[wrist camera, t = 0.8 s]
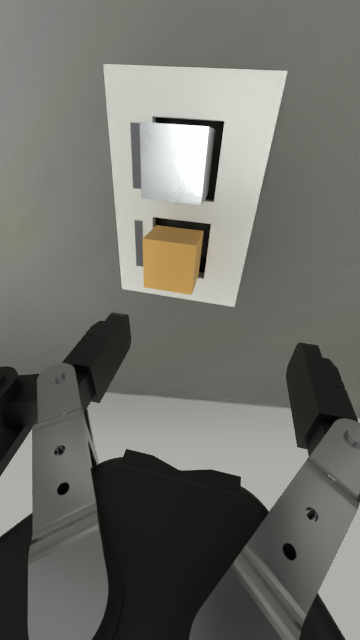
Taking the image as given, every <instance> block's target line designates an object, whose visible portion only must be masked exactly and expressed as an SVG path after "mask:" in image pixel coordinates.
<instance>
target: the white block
mask: <svg viewBox="0 0 360 640" xmlns="http://www.w3.org/2000/svg"><path fill="white" fill-rule="evenodd" d="M214 137H215V129H213V128H211V127H209V126H195V125H180V124H166V123H151V122H140V158H141V197H142V198H143V199H152V200H161V201H170V202H179V203H188V204H197V205H201V204H202V203H203V201H204V200H205V199H206V197H207V196H208V189H209V180H210V172H211V163H212V154H213V146H214Z"/></svg>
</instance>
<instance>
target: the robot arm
mask: <svg viewBox="0 0 360 640" xmlns="http://www.w3.org/2000/svg"><path fill="white" fill-rule="evenodd" d="M130 344H131V333H130V324H129V317H128V315H127V314H120V313H114V312H112V313H111V314H110V315H109V317H108V318H107V319H106V320H105V321H99V322H98V323H96V324H94V325H93V326H91V328H90V329H89V330H88V331H87V333H86V335H84V336H83V338H82V339H81V341H79V342H78V344H77V345H76V346H75V347H74V349H73V350H72V351H71V352H70V354H69V355H68V356H67V357H66V358H65V360H64V361H63V362H62V363H58V364H54V365H51V366H49V367H47V368H46V369H44V370H43V371H42V372H41V373H40V374H32V375H20V376H19V375H18V373H17V371H16V370H15V369H14V368H12V367H7V366H6V367H0V476H1V474H2V473H3V471H4V470H5V468H6V467H7V465H8V464H9V462H10V461H11V459H12V458H13V456H14V455H15V453H16V452H17V450H18V449H19V447H20V446H21V444H22V443H23V441H24V440H25V438H26V437H27V435H28V434H29V432H30V431H31V429H32V428H33V429H32V476H33V477H32V480H33V481H32V483H33V484H32V485H33V488H32V489H33V490H32V493H33V513H31V514H30V515H29V516H27V517H26V518H25V519H23V520H22V521H21V522H19V523H18V524H17V525H15V526H14V527H13V528H11V529H10V530H9V531H8V532H6V533H5V534H3V535H2V536H1V537H0V640H345V638H344V636H343V635H342V633H341V631H340V630H339V628H338V626H337V625H336V623H335V621H334V620H333V618H332V616H331V615H330V613H329V611H328V610H327V608H326V606H325V604H324V603H323V601H322V600H321V598H320V596H319V594H318V590H319V588H320V586H321V584H322V582H323V580H324V578H325V576H326V574H327V572H328V570H329V568H330V566H331V564H332V562H333V559H334V557H335V555H336V553H337V551H338V549H339V547H340V545H341V543H342V541H343V539H344V537H345V535H346V533H347V531H348V528H349V526H350V524H351V522H352V520H353V518H354V516H355V514H356V512H357V510H358V507H359V503H360V423H359V422H358V420H357V417H356V415H355V412H354V410H353V407H352V404H351V402H350V399H349V397H348V394H347V392H346V389H345V387H344V384H343V381H341V376H340V374H339V371H338V369H337V368H336V366H335V365H334V364H333V363H332V362H331V361H330V360H329V359H326V358H322V355H321V352H320V349H319V347H318V346H317V345H312V344H306V343H298V344H297V346H296V348H295V350H294V353H293V355H292V357H291V360H290V362H289V364H288V367H287V372H286V380H287V386H288V393H289V399H290V405H291V411H292V417H293V423H294V429H295V435H296V441H297V447H300V448H304V449H308V454H309V457H308V459H307V460H306V462H305V463H304V464H303V466H302V467H301V468H300V470H299V471H298V473H297V474H296V476H295V477H294V478H293V480H292V481H291V482H290V484H289V485H288V486H287V488H286V489H285V491H284V492H283V493H282V495H281V496H280V498H279V499H278V500H277V502H276V503H275V504H274V506H273V507H272V509H271V510H270V511H268V510H267V509H266V507H265V506H264V505H263V504H262V503H261V502H260V501H259V500H258V499H257V498H256V497H255V496H254V495H253V494H252V493H250V492H249V491H248V490H246V489H245V488H243V487H241V486H240V482H241V477H239V476H235V475H231V474H227V473H222V472H219V471H215V470H191V471H181V470H177V469H176V468H174V467H172V466H170V465H169V464H167V463H165V462H163V461H162V460H160V459H158V458H156V457H155V456H153V455H148V454H145V453H140V452H136V451H132V450H128V449H126V451H125V454H124V456H123V457H119V458H114V459H110V460H107V461H104V462H102V463H100V464H99V462H98V457H97V454H96V450H95V445H94V440H93V435H92V430H91V425H90V420H89V415H88V410H87V407H88V405H89V404H90V402H91V401H92V402H97V403H100V401H101V399H102V398H103V396H104V394H105V392H106V390H107V389H108V387H109V385H110V383H111V381H112V379H113V378H114V376H115V374H116V372H117V370H118V369H119V367H120V365H121V363H122V361H123V359H124V358H125V356H126V354H127V352H128V350H129V348H130Z"/></svg>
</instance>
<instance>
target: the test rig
mask: <svg viewBox="0 0 360 640" xmlns="http://www.w3.org/2000/svg"><path fill="white" fill-rule="evenodd" d="M103 67H104V79H105V91H106V103H107V115H108V126H109V138H110V150H111V162H112V174H113V186H114V198H115V210H116V222H117V234H118V246H119V258H120V270H121V282H122V289H126V290H132V291H139V292H145V293H151V294H157V295H163V296H170V297H176V298H182V299H188V300H194V301H201V302H207V303H213V304H219V305H226V306H232V307H235V302H236V298H237V293H238V289H239V284H240V280H241V276H242V271H243V267H244V262H245V258H246V253H247V249H248V245H249V240H250V236H251V231H252V227H253V222H254V218H255V214H256V209H257V205H258V200H259V196H260V191H261V187H262V183H263V178H264V174H265V169H266V165H267V160H268V156H269V151H270V147H271V143H272V138H273V134H274V129H275V125H276V120H277V116H278V112H279V107H280V103H281V98H282V94H283V89H284V85H285V81H286V76H287V72H288V71H274V70H248V69H221V68H195V67H168V66H142V65H116V64H103ZM156 117H157V118H172V119H188V120H203V121H218V122H224V128H223V136H222V144H221V151H220V159H219V167H218V174H217V182H216V190H215V197H214V200H208V199H205V200H204V201H203V203H202V204H201V205H197V204H188V203H179V202H170V201H161V200H152V199H143V198H142V197H141V158H140V122H151V123H156ZM155 217H156V218H164V219H173V220H181V221H189V222H198V223H206V224H211V228H210V236H209V243H208V251H207V259H206V267H205V273H203V272H199V275H198V278H197V281H196V284H195V287H194V290H193V293H192V295H190V294H183V293H177V292H171V291H164V290H158V289H152V288H145V287H144V274H143V238H144V237H145V236H146V235H147V234H148V233H149V232H150V231H151V230H152V229H153V228H154V227H155Z"/></svg>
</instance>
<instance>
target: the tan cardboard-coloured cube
mask: <svg viewBox="0 0 360 640" xmlns="http://www.w3.org/2000/svg"><path fill="white" fill-rule="evenodd" d="M203 232H204V231H200V230H192V229H184V228H176V227H168V226H160V225H157V226H155V227H154V228H153V229H152V230H151V231H150V232H149V233H148V234H147V235H146V236H145V237H144V238H143V274H144V287H145V288H152V289H158V290H164V291H171V292H177V293H183V294H190V295H192V293H193V290H194V287H195V284H196V281H197V278H198V275H199V267H200V258H201V250H202V241H203Z"/></svg>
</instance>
